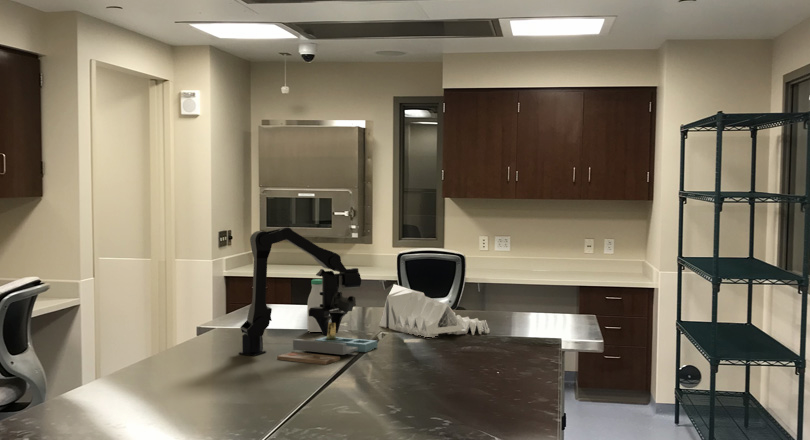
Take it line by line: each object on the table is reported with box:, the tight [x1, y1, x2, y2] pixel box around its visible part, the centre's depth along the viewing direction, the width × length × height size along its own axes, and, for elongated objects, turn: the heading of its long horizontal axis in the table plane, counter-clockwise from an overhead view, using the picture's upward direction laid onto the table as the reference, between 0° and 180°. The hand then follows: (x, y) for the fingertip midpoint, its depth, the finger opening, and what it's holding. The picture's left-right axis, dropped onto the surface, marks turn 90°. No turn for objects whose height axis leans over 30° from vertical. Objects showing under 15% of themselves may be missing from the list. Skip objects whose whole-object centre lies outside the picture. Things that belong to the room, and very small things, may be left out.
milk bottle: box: [306, 278, 322, 333], centre depth 278 cm, size 8×8×20 cm
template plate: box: [276, 351, 341, 366], centre depth 226 cm, size 8×18×1 cm, turn 63°
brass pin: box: [325, 322, 337, 340], centre depth 248 cm, size 3×3×8 cm
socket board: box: [314, 336, 378, 353], centre depth 245 cm, size 8×20×2 cm, turn 63°
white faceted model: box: [378, 283, 490, 338], centre depth 284 cm, size 42×27×17 cm, turn 34°
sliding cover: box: [292, 338, 358, 356], centre depth 234 cm, size 9×19×3 cm, turn 63°
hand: (330, 334), depth 248 cm, fingers open, 6 cm apart
